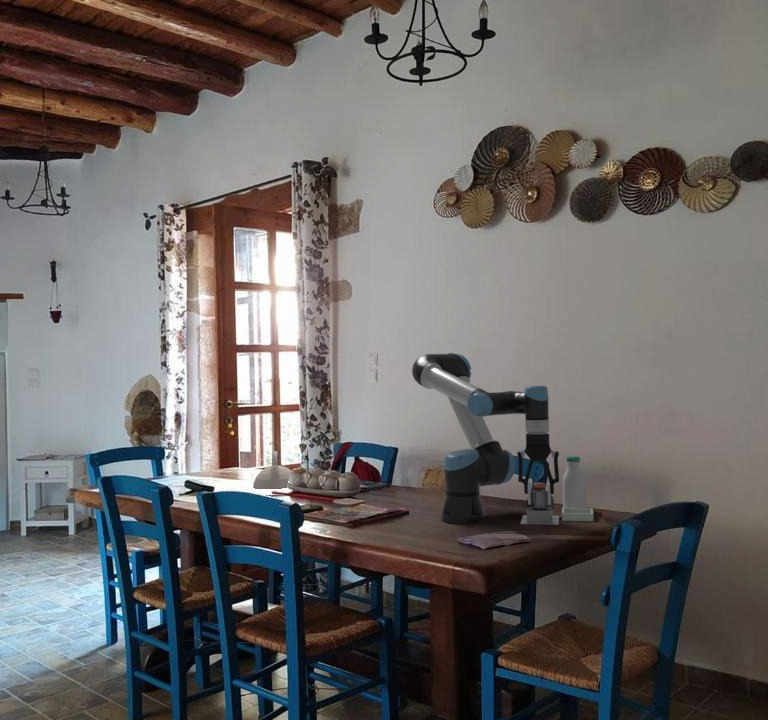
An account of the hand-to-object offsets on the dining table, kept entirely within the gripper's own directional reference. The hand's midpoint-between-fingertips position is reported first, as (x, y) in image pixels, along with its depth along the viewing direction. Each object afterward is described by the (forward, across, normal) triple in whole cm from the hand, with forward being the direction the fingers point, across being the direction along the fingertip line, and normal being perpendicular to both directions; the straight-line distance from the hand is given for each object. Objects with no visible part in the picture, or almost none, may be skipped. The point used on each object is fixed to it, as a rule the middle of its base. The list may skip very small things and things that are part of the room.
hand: (539, 503), depth 261 cm
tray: (+7, +12, +6) cm, 15 cm away
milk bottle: (+7, +11, +20) cm, 24 cm away
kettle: (+7, -114, +60) cm, 129 cm away
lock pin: (+6, 0, 0) cm, 6 cm away
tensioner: (+7, 0, +2) cm, 7 cm away
